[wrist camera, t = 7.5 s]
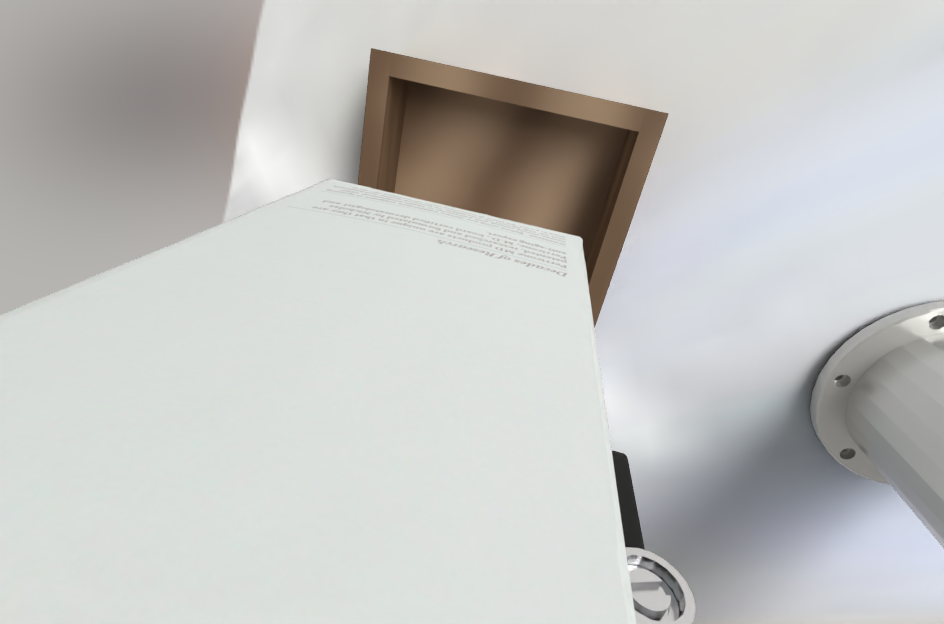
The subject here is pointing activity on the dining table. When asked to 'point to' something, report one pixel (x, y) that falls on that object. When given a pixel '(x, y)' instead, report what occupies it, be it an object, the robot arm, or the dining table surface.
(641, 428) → the dining table surface
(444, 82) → the wooden shadow box
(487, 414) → the supplement box
